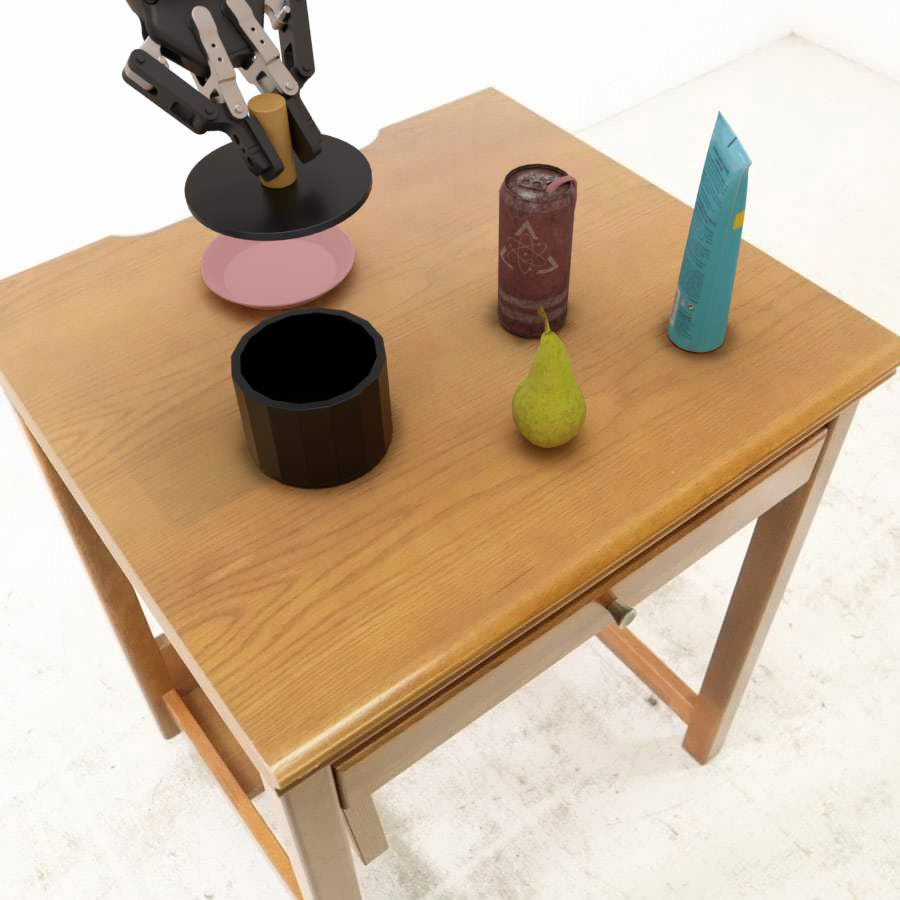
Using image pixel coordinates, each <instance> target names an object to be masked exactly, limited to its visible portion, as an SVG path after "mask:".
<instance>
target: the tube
mask: <svg viewBox="0 0 900 900" xmlns="http://www.w3.org/2000/svg"><path fill="white" fill-rule="evenodd" d="M752 164H753V160H752V159H751V157H750V155H749V154H748V152H747V151H746V149H745V147H744V145H743V144H742V143H741V141H740V139H739V137H738V136H737V134H736V133H735V131H734V130H733V127H732V126H731V124H729V122H728V120H726V118H725V116H724V115H723V113H722V112H721V110H718V113H717V116H716V119H715V123H714V126H713V130H712V133H711V137H710V141H709V144H708V148H707V151H706V156H705V161H704V164H703V168H702V172H701V176H700V181H699V185H698V190H697V194H696V199H695V203H694V207H693V210H692V211H693V212H692V216H691V221H690V225H689V230H688V234H687V239H686V243H685V247H684V251H683V257H682V262H681V266H680V270H679V275H678V280H677V284H676V288H675V294H674V298H673V302H672V307H671V313H670V318H669V321H668V327H667V334H668V338H669V339H670V341H671V342H672V343H673V344H674V345H675V346H677V347H678V348H680V349H682V350H684V351H687V352H694V353H708V352H712V351H714V350H717V349H718V348H719V347H721V345H723V343H724V341H725V337H726V333H727V327H728V321H729V316H730V309H731V308H730V307H731V303H732V297H733V292H734V285H735V279H736V273H737V268H738V267H737V266H738V261H739V255H740V248H741V241H742V235H743V230H744V229H743V228H744V223H745V222H744V221H745V215H746V214H745V213H746V208H747V207H746V205H747V197H748V186H749V185H748V184H749V169H750V167H751V166H752Z"/></svg>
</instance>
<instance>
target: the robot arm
mask: <svg viewBox="0 0 900 900" xmlns="http://www.w3.org/2000/svg"><path fill="white" fill-rule="evenodd" d="M125 2H126V3H127V5H128V7H129V8H130V10H131V11H132V12H133V13H134V14H135V15H136V17H138V21H139V23H140V27H141V28H140V29H141V30H140V31H141V37H142V40H143V42H142V43H141V45H140V46H139V48H135V49H133V50H132V51H131V52H130V54H129V55H128V58H127V61H126V63H125V65H124V67H123V69H122V70H121V78H122V80H123V81H124V83H125V84H127V85H128V86H130V87H131V88H132V89H134V90H135V91H137V92H138V93H139V94H141V95H142V96H143V97H145V98H146V99H147V100H149V101H150V102H151V103H153V104H154V105H156V106H157V107H158V108H160V109H161V110H162V111H164V112H165V113H166V114H168V115H169V116H170V117H172V118H173V119H175V121H177V122H179V123H180V124H181V125H183V126H184V127H185V128H187V129H188V130H190V131H191V132H192V133H194V134H195V135H197V136H201V135H204V134H205V135H206V133H207V132H221V133H224V134H226V135H227V137H229V139H230V140H231V142H233V144H234V145H235V147H236V149H237V150H238V152H239V154H240V155H241V157H242V159H243V160H244V162H245V163H246V165H247V167H248V169H249V170H250V172H252V173H253V174H254V175H255V176H256V177H258V176H260V175H261V177H262V178H263V180H264V181H266V182H269V181H271V180H273V179H275V178H277V177H278V176H279V175H280V174H281V173H282V172H283V171H284V164H283V162H282V160H281V158H280V157H279V155H278V153H277V152H276V150H275V148H274V147H273V145H272V143H271V142H270V140H269V138H268V137H267V135H266V133H265V132H264V130H263V128H262V127H261V125H260V123H259V122H258V120H257V118H256V117H255V115H254V116H251V117H249V113H248V107H247V103H246V100H245V98H244V96H243V94H242V91H241V90H240V88H239V86H238V83H237V75H236V70H235V69H237V70H238V71H239V72H240V74H241V75H242V76H243V78H244V79H245V80H246V82H247V83H249V84H250V85H254V86H255V87H256V89H257V90H258V91H259V94H264V93H274V94H278V95H281V96H282V97H284V99H285V101H286V107H287V114H288V121H289V128H290V135H291V142H292V148H293V150H294V152H295V153H296V155H297V157H298V158H299V160H300V161H301V162H302V163H303V164H306V163H308V162H310V161H312V160H314V159H315V158H316V157H317V156H318V155H319V154H320V153H321V151H322V148H321V145H320V143H321V142H322V136H321V134H322V132H321V131H320V129H319V127H318V124H316V122H315V121H314V119H313V116H312V115H311V113H310V111H309V110H308V108H307V107H306V104H305V103H304V101H303V100H302V97H301V90H302V89H303V88H304V86H305V84H307V82H308V81H309V79H311V78H312V77H313V75H314V74H315V73H316V65H315V57H314V49H313V48H314V47H313V41H312V32H311V27H310V26H311V25H310V17H309V8H308V0H125ZM265 15H266V16H267V17H268V19H269V22H270V25H271V29H272V30H274V31H277V33H278V40H279V48H280V51H279V49H278V47H277V46H276V45H275V43H274V42H273V40H272V39H271V38H270V36H269V35H268V33H267V31H265ZM167 60H168V61H170V62H172V63H174V64H175V65H177V66H179V67H181V68H183V69H184V70H186V71H188V72H189V73H190V75H191V77H192V79H193V82H194V84H195V86H196V88H197V89H196V88H195V87H194V86H192V85H191V84H190V83H188V81H186V80H184V79H183V78H182V77H180V76H179V75H178V74H177V73H175V72H174V71H173V70H172V69H170V65H169V62H168V61H167Z"/></svg>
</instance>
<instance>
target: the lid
mask: <svg viewBox="0 0 900 900" xmlns="http://www.w3.org/2000/svg"><path fill="white" fill-rule="evenodd" d="M246 105H247V107H248V116H249V117H251V116H254V115H255V117H256V118H257V120H258V122H259V123H260V125H261V127H262V128H263V130H264V132H265V133H266V135H267V137H268V138H269V140H270V142H271V143H272V145H273V147H274V148H275V150H276V152H277V153H278V155H279V157H280V158H281V160H282V162H283V164H284V171H283V172H282V173H281V174H280V175H279V176H278V177H277V178H275V179H273V180H271V181H269V182H266V181H264V180H263V178H262V177H261V175H260V176H258V177H256V176H255V175H254V174H253V173H252V172H250V170H249V169H248V167H247V165H246V163H245V162H244V160H243V159H242V157H241V155H240V154H239V152H238V150H237V149H236V147H235V145H234V144H233V142H232V141H230V142H228V143H226V144H223V145H221V146H219V147H217V148H215V149H213V150H212V151H210V152H209V153H208V154H206V155H204V156H203V157H202V158H201V159H199V161H198V162H197V163H196V164H195V165H194V166H193V167H192V168H191V170H190V172H189V173H188V175H187V177H186V179H185V183H184V187H183V188H184V189H183V191H184V199H185V203H186V205H187V209H188V210H189V212H190V214H191V215H192V216H193V218H194V219H195V220H196V221H197V222H198V223H200V224H201V225H203V226H204V227H205V228H207V229H209V230H211V231H213V232H215V233H218V234H219V235H220V234H222V235H225V236H229V237H233V238H238V239H243V240H252V241H280V240H289V239H296V238H301V237H305V236H309V235H313V234H316V233H319V232H322V231H324V230H327V229H329V228H332V227H334V226H336V225H337V226H338V225H340V224H341V223H343V222H345V221H346V220H348V219H349V218H351V217H352V216H353V215H355V214H356V213H357V212H358V211H360V209H361V208H362V207H363V206H364V205H365V204H366V202H367V200H368V199H369V196H370V194H371V192H372V190H373V182H374V181H373V171H372V168H371V167H372V166H371V164H370V162H369V161H368V159H367V157H366V156H365V155H364V154H363V153H362V151H360V150H359V149H358V148H357V147H356V146H354V145H353V144H351V143H349V142H348V141H345V140H343V139H341V138H339V137H335V136H332V135H329V134H324V133H321V136H322V142H321V143H320V145H321V148H322V151H321V153H320V154H319V155H318V156H317V157H316V158H315V159H314V160H312V161H310V162H308V163H306V164H303V163H302V162H301V161H300V160H299V158H298V157H297V155H296V153H295V152H294V150H293V148H292V142H291V135H290V128H289V121H288V114H287V107H286V101H285V99H284V97H282V96H281V95H278V94H274V93H264V94H261V93H259V94H257V95H254V96H253V97H252V96H251V98H250V99H248V101H247V103H246Z"/></svg>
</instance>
